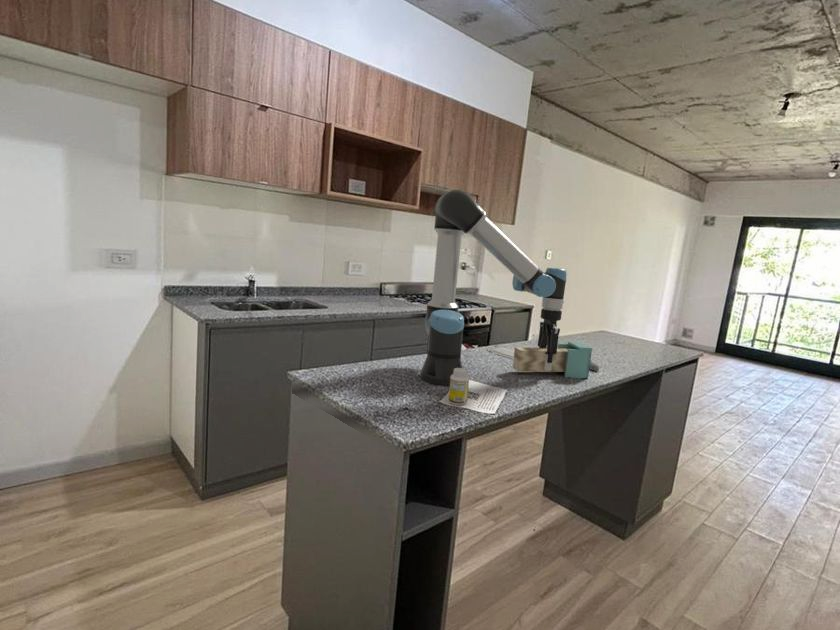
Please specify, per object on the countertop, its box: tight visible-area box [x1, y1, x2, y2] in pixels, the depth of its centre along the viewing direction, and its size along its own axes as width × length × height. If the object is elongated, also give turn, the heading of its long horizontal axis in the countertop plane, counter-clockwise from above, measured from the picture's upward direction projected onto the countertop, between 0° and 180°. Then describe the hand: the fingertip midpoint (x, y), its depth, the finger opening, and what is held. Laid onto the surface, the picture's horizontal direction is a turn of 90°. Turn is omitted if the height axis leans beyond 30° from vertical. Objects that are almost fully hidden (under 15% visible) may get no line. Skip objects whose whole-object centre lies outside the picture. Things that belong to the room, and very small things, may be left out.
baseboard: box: [486, 345, 515, 360], centre depth 195 cm, size 31×3×12 cm
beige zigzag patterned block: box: [512, 346, 570, 373], centre depth 174 cm, size 24×5×8 cm, turn 103°
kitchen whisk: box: [565, 341, 600, 372], centre depth 198 cm, size 6×34×6 cm, turn 4°
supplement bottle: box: [448, 368, 470, 406], centre depth 135 cm, size 6×6×10 cm
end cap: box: [557, 341, 593, 379], centre depth 175 cm, size 9×10×12 cm
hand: (544, 368), depth 175 cm, fingers closed on beige zigzag patterned block, 5 cm apart
